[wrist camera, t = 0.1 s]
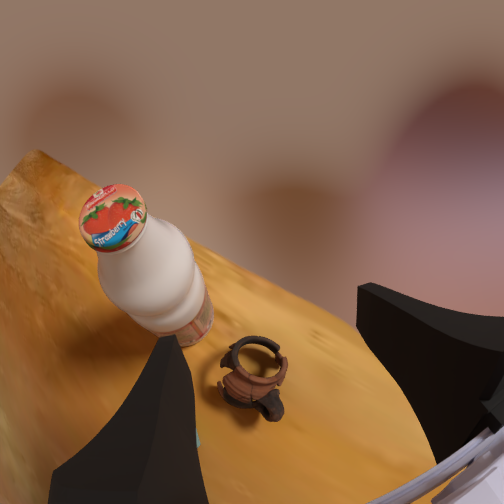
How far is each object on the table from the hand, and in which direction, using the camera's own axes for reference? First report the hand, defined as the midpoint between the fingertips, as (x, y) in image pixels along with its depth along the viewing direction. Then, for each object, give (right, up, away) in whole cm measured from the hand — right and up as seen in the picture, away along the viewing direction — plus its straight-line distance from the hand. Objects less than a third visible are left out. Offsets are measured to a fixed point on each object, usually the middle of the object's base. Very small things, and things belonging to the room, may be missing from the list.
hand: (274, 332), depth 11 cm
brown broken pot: (0, -15, +28) cm, 32 cm away
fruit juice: (-11, -7, +32) cm, 35 cm away
